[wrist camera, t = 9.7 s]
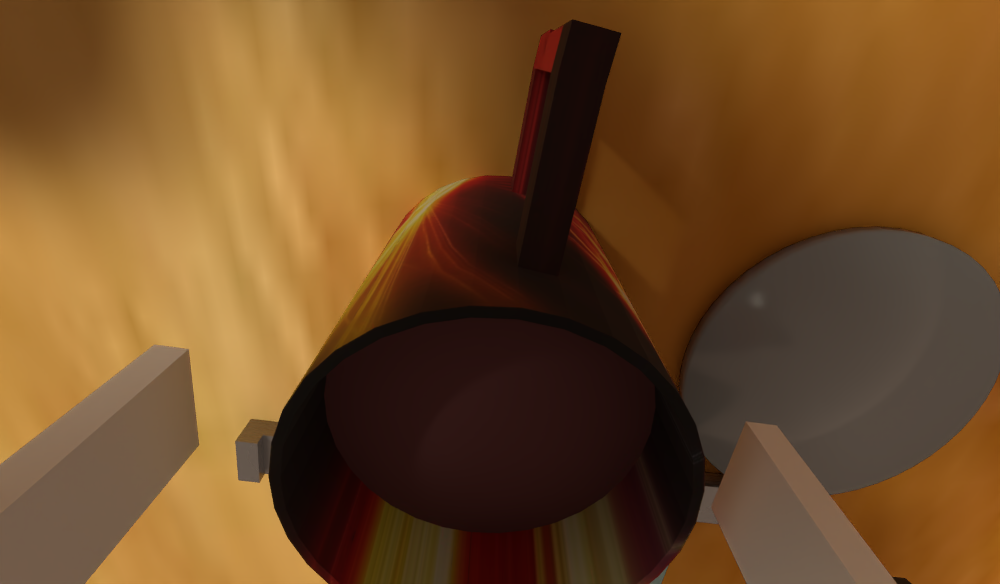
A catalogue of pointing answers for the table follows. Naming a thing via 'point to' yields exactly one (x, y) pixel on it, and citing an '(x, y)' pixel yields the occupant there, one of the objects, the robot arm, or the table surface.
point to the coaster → (847, 353)
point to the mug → (494, 385)
